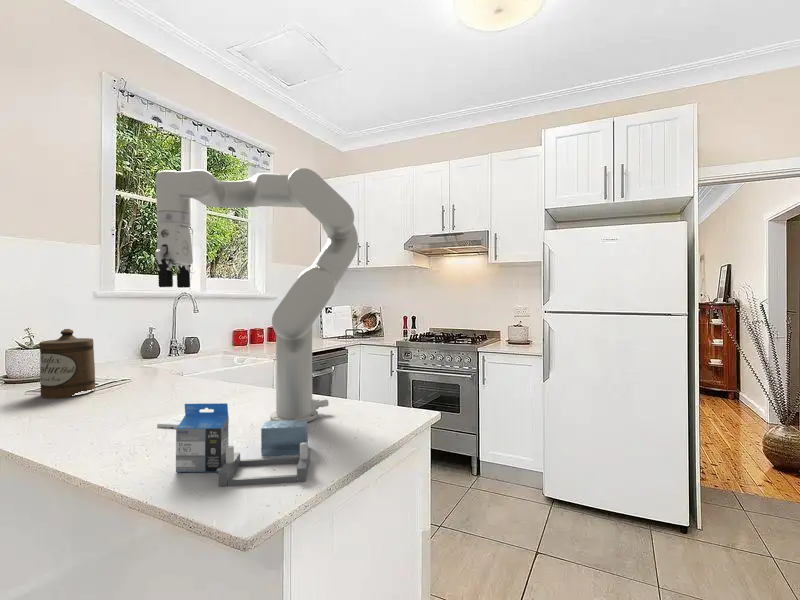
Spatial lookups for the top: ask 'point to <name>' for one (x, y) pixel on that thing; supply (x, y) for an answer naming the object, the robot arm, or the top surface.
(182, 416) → the external hard drive
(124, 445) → the top surface
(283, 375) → the robot arm
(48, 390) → the wooden container
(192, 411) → the label tape box
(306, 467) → the dock
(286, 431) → the light blue block
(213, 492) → the top surface
